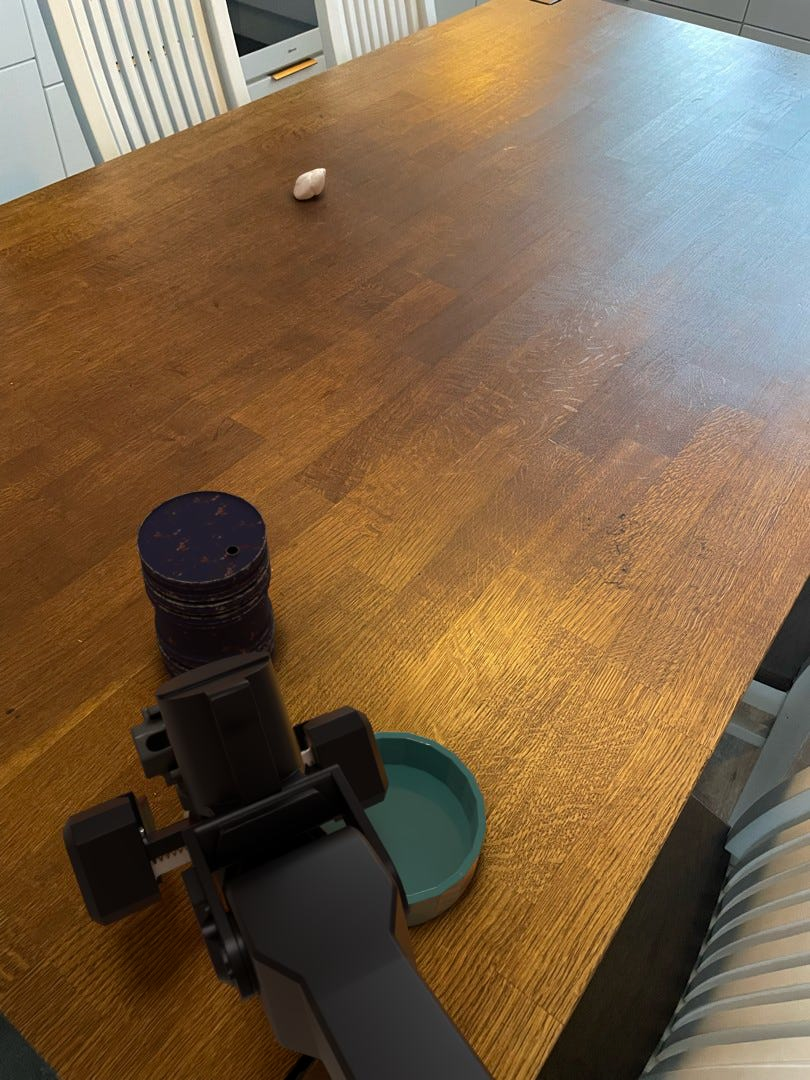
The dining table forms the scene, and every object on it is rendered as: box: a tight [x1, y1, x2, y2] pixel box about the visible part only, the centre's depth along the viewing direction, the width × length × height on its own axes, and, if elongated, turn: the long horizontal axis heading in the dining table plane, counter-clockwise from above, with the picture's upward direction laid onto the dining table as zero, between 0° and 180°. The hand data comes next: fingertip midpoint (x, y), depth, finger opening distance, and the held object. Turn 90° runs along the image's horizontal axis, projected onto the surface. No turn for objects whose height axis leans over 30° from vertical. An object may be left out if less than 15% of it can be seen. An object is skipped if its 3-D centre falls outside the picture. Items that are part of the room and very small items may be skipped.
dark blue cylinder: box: [136, 489, 276, 680], centre depth 73 cm, size 10×10×15 cm
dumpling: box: [293, 168, 327, 200], centre depth 137 cm, size 7×5×4 cm
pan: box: [320, 731, 487, 928], centre depth 66 cm, size 13×13×4 cm
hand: (211, 775), depth 61 cm, fingers open, 9 cm apart
